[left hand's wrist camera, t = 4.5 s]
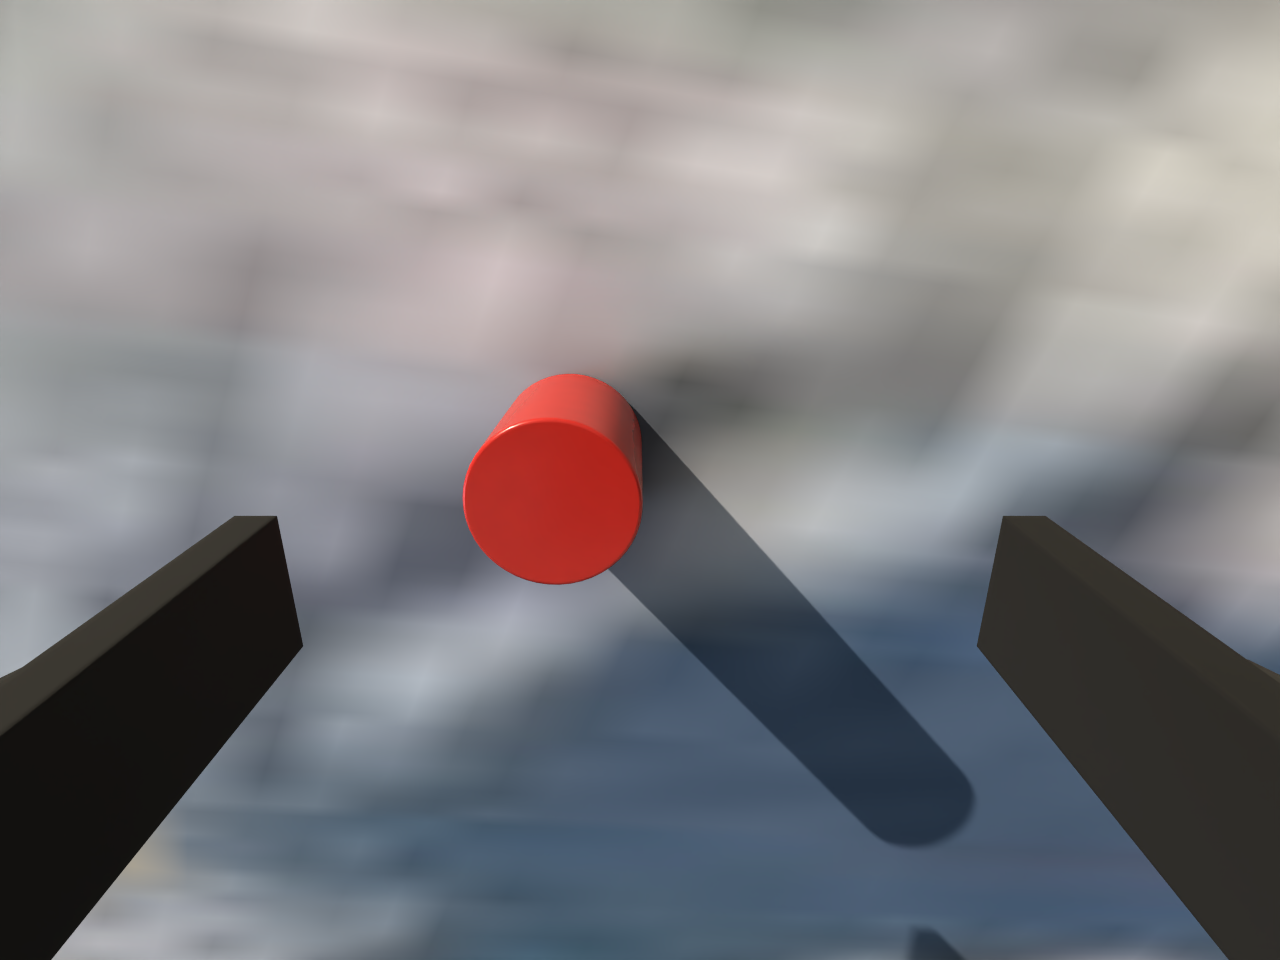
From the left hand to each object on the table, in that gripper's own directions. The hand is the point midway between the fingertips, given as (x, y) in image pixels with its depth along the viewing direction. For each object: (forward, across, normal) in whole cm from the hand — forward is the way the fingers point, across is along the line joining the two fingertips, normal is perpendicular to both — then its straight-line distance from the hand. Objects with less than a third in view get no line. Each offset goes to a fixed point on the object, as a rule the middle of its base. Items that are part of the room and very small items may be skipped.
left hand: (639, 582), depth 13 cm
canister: (+7, +2, 0) cm, 7 cm away
